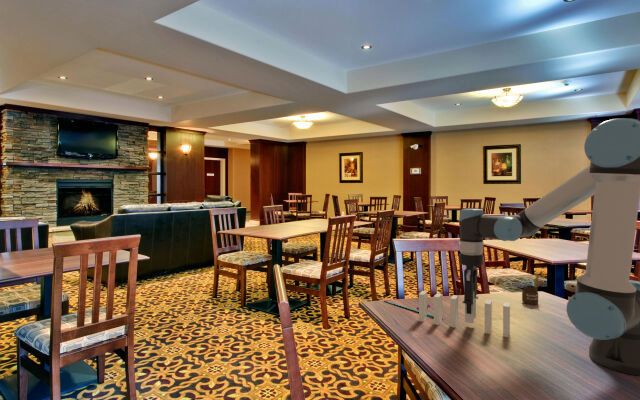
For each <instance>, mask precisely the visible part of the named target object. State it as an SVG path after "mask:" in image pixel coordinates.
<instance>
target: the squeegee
mask: <svg viewBox="0 0 640 400" xmlns="http://www.w3.org/2000/svg"><path fill="white" fill-rule="evenodd" d="M383 302H384V303H387V302H388V300H383ZM388 304H392V305H394V304H395V306H397V305H398V307H400V306H401V308H403V307H404V308H403V309H406V308H407V309H406V310H409V309H410V311H412V310H413V312H415V311H416V313H418V312H419V306H417V307H416V308H411V307H409V306H405V305H401V304H398V303H396V302H392V301H389V302H388ZM428 307H429V308H431V305H430V304H428V303H427V309H428ZM427 315H428V316H427V317H430V316H431V317H430V318H433V317H434V314H431V313H429V312H427ZM442 321H444V318H443V317H442Z"/></svg>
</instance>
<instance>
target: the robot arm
mask: <svg viewBox="0 0 640 400" xmlns="http://www.w3.org/2000/svg"><path fill="white" fill-rule="evenodd" d="M584 141H585V142H584V145H583V147H584V149H583V150H584V153H585V156H586V157H587V159H588V160H589V165H588V166H586V167H585V168H583V169H581V170H580V171H579V172H577V173H576V174H574V175H572V177H569V178H568V179H567V180H565V181H564V182H562V183H561V184H560V185H558V186H556V187H555V188H554V189H552V190H550V191H549V192H548V193H546V194H545V195H543V196H542V197H540V198H539V199H537V200H536V201H534V202H533V203H532V204H530V205H528V206H527V207H526V208H525V209H522V210H521V211H519V212H518V213H516V214H511V215H485V212H484V210H483V209H481V208H463V209H461V210H460V212H459V219H458V220H459V242H457V245H458V246H459V252H460V253H459V254H458V255H459V257H458V258H459V260H458V261H459V264H460V265H462V266H465V269H464V270H463V278H464V279H463V280H464V281H463V282H464V283H463V284H464V286H463V287H464V289H463V296H464V297H463V301H462V304H464V323H467V324H474V322H475V321H474V320H475V319H476V317H477V316H476V315H477V300H479V296H478V293H477V291H478V290H477V288H478V287H477V286H478V285H477V283H478V282H477V281H478V274H479V271H478V268H477V267H482V266H483V264H484V255H483V253H484V239H491V240H499V241H503V242H515V241H517V240H519V239H518V238H527V237H531V236H534V235H536V234H538V232H539V230H540V228H542V227H544V226H545V225H547V224H549V223H550V222H552V221H554V220H555V219H557V218H559V217H560V216H562V215H564V214H565V213H568V212H569V211H570V210H572V209H573V208H575V207H576V206H579V205H580V204H582V203H583V202H585V201H587V200H588V199H590V198H591V197H593V203H592V205H593V206H592V213H591V214H592V215H591V220H590V221H591V222H590V228H589V229H590V230H589V238H588V239H589V240H588V247H587V256H586V266H585V272H584V273H583V274H581V275H580V276H578V277H577V280H576V287H575V294H573V295H572V296H570V298H569V300H568V301H567V303H566V315H567V317H568V319H569V321H570V323H572V325H573V326H574V328H575V329H576V330H577V331H579V332H580V333H582V334H584V335H586V336H587V337H589V338H591V342H590V344H589V346H588V357H589V358H590V359H591V360H592V361H594V362H595V363H597V364H599V365H600V366H602V367H605V368H608V369H610V370H612V371H616V372H620V373H624V374H627V375H632V376H633V375H634V376H640V281H638V280H633V279H630V276H631V270H632V269H631V268H632V262H633V261H632V260H633V254H634V253H633V251H634V245H635V237H636V236H635V235H636V230H637V229H636V228H637V220H638V213H639V206H640V120H639V119H637V118H636V119H635V118H631V117H630V118H624V117H623V118H620V117H619V118H612V119H609V120H605V121H603V122H601V123H599V124H598V125H597V126H596V127H594V128H593V129H592V130H591V131H590V132H589V134H587V136H586V139H585V140H584ZM473 293H474V304H473Z"/></svg>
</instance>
